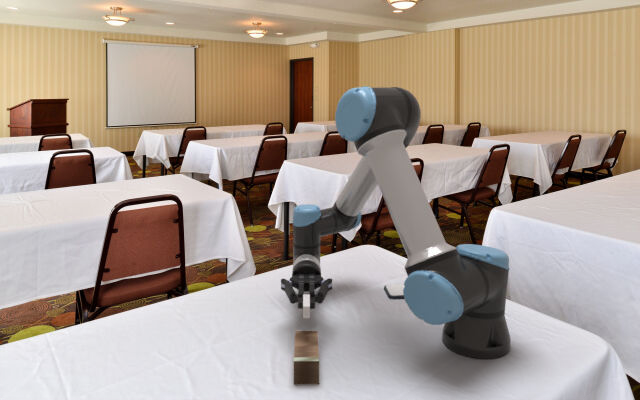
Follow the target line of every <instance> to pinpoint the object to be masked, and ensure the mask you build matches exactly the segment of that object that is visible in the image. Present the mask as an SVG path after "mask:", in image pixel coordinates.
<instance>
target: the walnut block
mask: <svg viewBox="0 0 640 400" xmlns="http://www.w3.org/2000/svg"><path fill="white" fill-rule="evenodd" d="M318 332H319V331H318V330H295V331H294V348H293V349H294V350H293V352H294V354H293V385H319V384H320V353H319V352H320V351H319V333H318Z"/></svg>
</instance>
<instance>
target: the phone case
mask: <svg viewBox="0 0 640 400" xmlns="http://www.w3.org/2000/svg"><path fill="white" fill-rule="evenodd" d="M404 287H405V286H404V283H401V284H400V283H399V284H386V285H384V286H383V290H384V292H385V294H386V295H387V298H388V299H390V300H405V298H404V294H403V289H404Z"/></svg>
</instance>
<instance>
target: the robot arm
mask: <svg viewBox="0 0 640 400" xmlns="http://www.w3.org/2000/svg"><path fill="white" fill-rule="evenodd" d="M336 105H337V106H336V110H335V113H334V117H335V118H334V120H335V121H334V122H335V128H336V130H337V133H338V135H339V136H340V137H341V138H342V139H345V141H348V142H352V143H353V145H354V146H355V148H356V151H357V153H358V155H360V156H361V158H360V160H359V162H358V163H357V165H356V167H355V169H354V170H353V172H352V173H351V175H350V176H349V178H348V180H347V182H346V183H345V185H344V187H343V189H342V190H341V192H340V193H339V195H338V196H337V199H336V201H335V202H334V203H333V205H332V206H331V207H329V208H323V209H321V207H320V206H319V205H316V204H309V203H308V204H299V205H296V206H295V207H294V208H293V214H292V233H293V234H292V235H293V242H292V244H293V245H292V246H293V247H292V251H293V252H292V253H293V254H292V255H293V256H292V258H293V259H292V262H293V263H292V271H291V272H292V273H291V277H290V278H289V279H286V278H281V279H280V290H282V291H283V292H284V293H285V294H286V297H287V299H288V301H289V303H290V304H292V305H293V304H297V309H299V310H300V309H302V319H310V318H311V310H314V309H316V303H317V304H320V305H321V304H323V303H324V300H325V298H326V297H327V295H328V293H329V292H330V291H331V290H333V279H332V278H330V277H329V278H327V279H324V277H323V276H322V267H321V238H322V237H326V236H327V237H328V236H331V235H334V234H339V233H343V232H350V231H351V230H354V229H356V228H357V227H358V226H360V224H361V222H362V221H361V219H362V212H361V211H362V209H363V208H364V207H365V205H366V203H367V202H368V200H369V199H370V197H371V196H372V194H373V192H374V191H375V190H376V188H377V186H378V187H379V189H380V193H381V195H382V197H383V199H384V202H385V204H386V207H387V210H388V213H389V214H390V217H391V219H392V222H393V225H394V227H395V229H396V232H397V234H398V237H399V239H400V242H401V244H402V247H403V249H404V252H405V254H406V255H407V260H406V262H405V263H404V264H405V265H404V270H405V272H406V275H407V277H406V278H405V280H404V281H403V284H404V286H405V287H404V289H403V294H404V298H405V299H404V300H405V303H406V305H407V307H408V309H409V310H410V311H411V312H412V314H413V315H414V316H415V317H416V318H417V319H420V320H422V321H424V322H425V323H426V324H429V325H432V326H433V325H434V326H441V325H442V326H443V328H442V334H441V335H442V336H441V337H442V342H443V344H444V345H445V346H446V347H447V348H448V349H450V350H451V351H453V352H454V353H456V354H459V355H461V356H465V357H467V358H468V357H469V358H473V359H483V360H491V359H498V358H500V357H504V356H506V355H507V354H509V352H510V350H511V335H510V332H509V328H508V327H509V326H508V324H507V319H506V316H505V314H506V305H507V304H506V303H507V293H508V291H507V290H508V284H509V283H508V281H509V271H510V257H509V256H508V254H507V253H506V252H504V251H503V250H501V249H499V248H495V247H492V246H487V245H481V244H473V243H472V244H471V243H463V244H462V243H461V244H458V245H457V246H456V247H455V246H453V245H451V244H449V243H448V242H446V239H445V237H444V235H443V232H442V230H441V228H440V225H439V224H438V221H437V219H436V216H435V214H434V212H433V210H432V207H431V205H430V202H429V200H428V198H427V196H426V193H425V191H424V188H423V186H422V185H421V184H422V183H421V181H420V179H419V177H418V174H417V172H416V170H415V167H414V165H413V162H412V160H411V158H410V155H409V153H408V150H407V148H408V147H409V145H410V144H411V142H412V141H413V139H414V137H415V136H416V133H417V131H418V129H419V126H420V123H421V117H422V113H421V112H422V111H421V106H420V104H419V101H418V99H417V98H416V96H415V95H414V94H413V93H412V92H410V91H409V90H407V89H405V88H403V87H399V86H394V87H393V86H392V87H391V86H390V87H389V86H388V87H387V86H386V87H383V86H382V87H379V86H378V87H376V86H375V87H370V86H360V87H353V88H350V89H348V90H347V91H345V92H344V93H343V94H342V96H341V97H340V99H339V100H338V103H337V104H336ZM295 289H296V290H297V291H298V293H297V292H296V291H295ZM317 289H318V290H317ZM316 290H317V292H316ZM305 292H307V293H309V294H305ZM296 293H297V294H296Z"/></svg>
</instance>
